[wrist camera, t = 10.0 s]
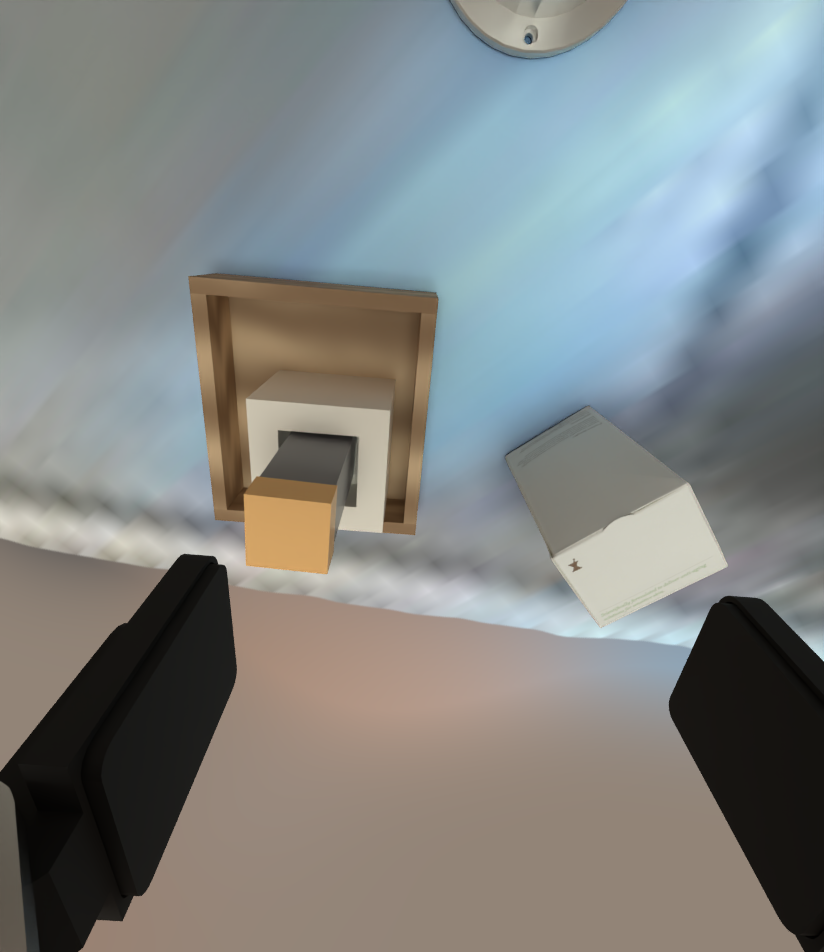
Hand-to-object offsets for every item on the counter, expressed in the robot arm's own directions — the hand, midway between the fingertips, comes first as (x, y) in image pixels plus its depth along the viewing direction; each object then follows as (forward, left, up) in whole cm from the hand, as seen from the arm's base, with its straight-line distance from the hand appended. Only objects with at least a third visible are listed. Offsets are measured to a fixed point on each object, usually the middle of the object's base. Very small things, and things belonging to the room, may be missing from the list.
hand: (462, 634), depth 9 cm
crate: (+5, -8, -30) cm, 32 cm away
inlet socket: (+7, -7, -30) cm, 31 cm away
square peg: (+7, -7, -25) cm, 27 cm away
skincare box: (+8, +12, -30) cm, 34 cm away
